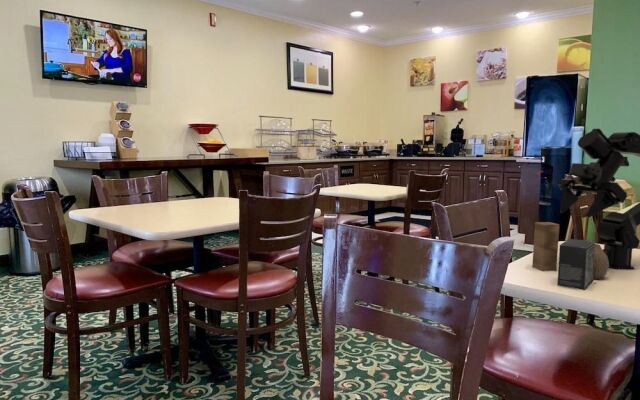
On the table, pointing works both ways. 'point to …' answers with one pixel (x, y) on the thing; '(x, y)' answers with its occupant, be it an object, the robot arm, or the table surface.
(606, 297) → the table surface
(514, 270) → the table surface
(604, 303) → the table surface
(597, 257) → the vase
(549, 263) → the walnut block
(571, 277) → the small box
